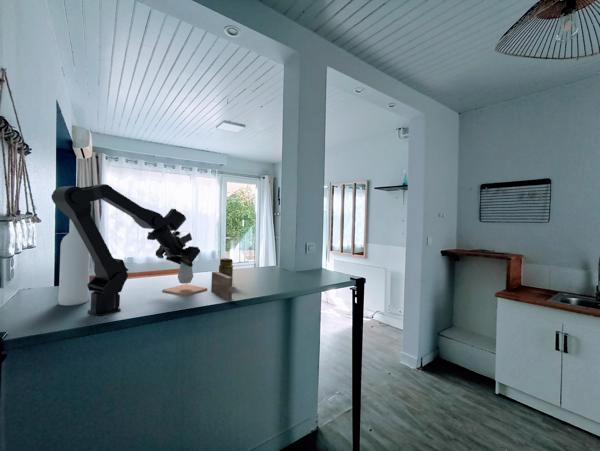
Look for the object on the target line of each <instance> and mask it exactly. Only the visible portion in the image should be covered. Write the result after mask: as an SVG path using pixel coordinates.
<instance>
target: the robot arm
mask: <svg viewBox="0 0 600 451" xmlns="http://www.w3.org/2000/svg"><path fill="white" fill-rule="evenodd" d="M51 200H52V202H53V203H54V205H56V207H57V209H59V211H60V212H62V213H63V215H65V216H66V217H67V218H68V219H69V220H70V219H71V220H72V222H73V224H74V226H75V227H76V229H77V231H78V233H79V235H80V237H81V238H82V240H83V242H84V244H85V246H86V247H87V249H88V251H89V253H90V258H91V259H92V260H93V263H94V270H93V272H94V274H95V276H94V277H93V278H92V279H91V280H89V283H88V284H87V287H88V289H89V292H90V309H88V310H87V313H90V314H92V315H94V316H97V317H99V316H104V315H107V314H111V313H112V314H113V313H115V312H121V311H122V308H120V304H121V302H120V301H121V295H120V294H119V293H122V291H123V288H124V285H125V283H126V281H127V279H129V273H128V271H129V269H128V268H127V267H126V264H125V262H124V260H123V259H119V258H114V257H113V255H112V253H111V251H110V250H109V248H108V245H107V243H106V240H104V237H103V235H102V234H101V232H100V230H99V228H98V225H97V224H96V222H95V221H94V218H93V216H92V202H95V201H98V200H102V201H103V202H105V203H107V204H109V205H111V206H112V207H114V208H116V209H118V210H119V211H120V212H123V213H124V214H126V215H128V216H130V217H131V218H132V219H133V221H134V222H135V223H136V225H138V226H139V227H141V228H143V229H149V230H152V231H148V232H147V236H146V240H149V241H155V240H156V241H157V242H158V244H159V247H158V248H157V249H156V251H155V256H156V257H157V258H158V259H164V257H165V260H166V261H169V262H172V263H174V264H178V265H181V263H183V264H185V265H187V266H190V267H192V268H193V262H194V261H195V259H196V258H197V256H198V255H199V254H200V253H201V250H200V248H199V246H193V245H191V246H188V247H186V246H187V243H188V242H190V241H192V240H193V238H192V235H191V231H179V229H180V227H181V226H182V225H183V224H184V223H185V221H186V220H187V218H186V215H185V214H184V213H182V212H181V211H178V210H177V209H176V208H171V209H170V210H169V211H168V212H167V214H166V215H165V216H163V215H162V214H161V213H160V212H157V211H155V210H151V209H149V208H145V207H143V206H141V205H140V204H138V203H136V202H134V201H133V200H131V199H130V198H129V197H127V196H126V195H124V194H122V193H121V192H118V191H117V190H115V189H114V188H113V187H112V186H111V185H110V184H107V183H105V184H104V183H100V184H99V183H98V184H94V185H89V186H83V187H80V186H74V185H73V186H59V187H57V188H56V189H54V190H53V192H52V194H51Z"/></svg>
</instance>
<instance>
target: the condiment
mask: <svg viewBox="0 0 600 451" xmlns="http://www.w3.org/2000/svg"><path fill="white" fill-rule="evenodd" d="M233 269H234V265H233V259H232V258H225V257H224V258H220V260H219V265H218V272H219V273H222V274H224V275H227V276H230V277H232V278H233V277H234V276H233V274H234V273H233V271H234V270H233ZM233 288H234V285H233V286H232V289H233Z"/></svg>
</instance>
